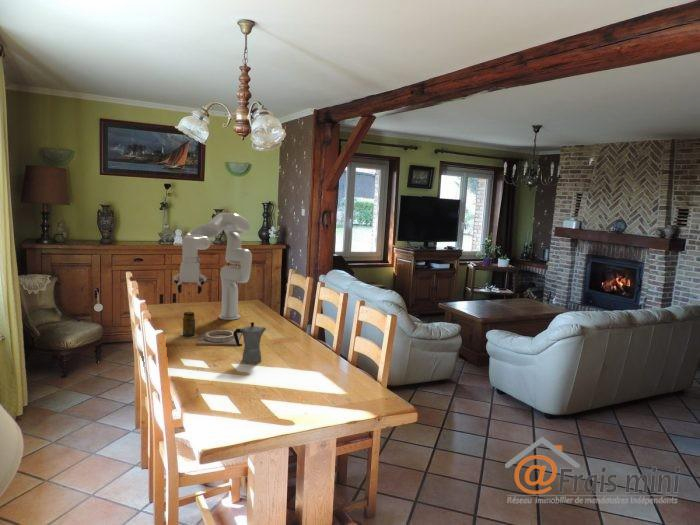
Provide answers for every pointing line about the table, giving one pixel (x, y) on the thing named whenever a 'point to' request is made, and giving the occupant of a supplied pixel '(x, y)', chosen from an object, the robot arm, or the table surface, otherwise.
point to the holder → (218, 338)
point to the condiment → (189, 325)
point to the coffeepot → (250, 343)
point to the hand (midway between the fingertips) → (189, 292)
